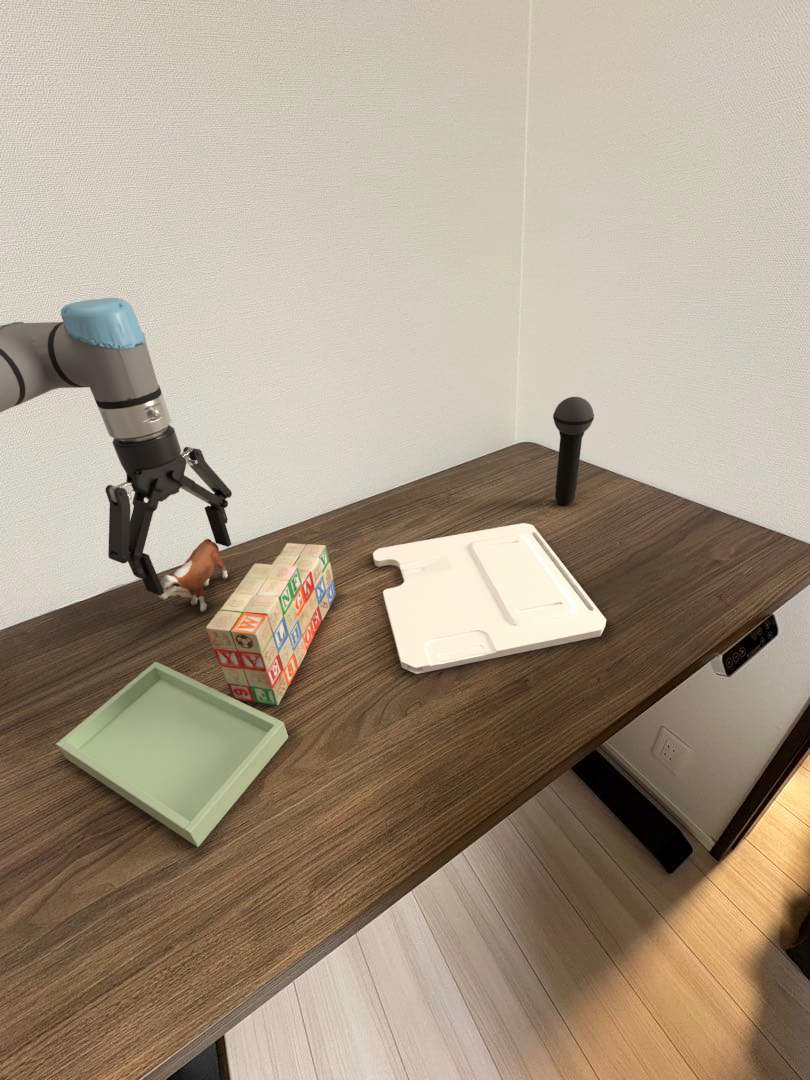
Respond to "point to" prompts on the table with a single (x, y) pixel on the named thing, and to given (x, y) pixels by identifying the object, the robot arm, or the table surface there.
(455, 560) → the tray
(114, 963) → the table surface
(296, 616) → the stack of blocks
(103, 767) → the tray
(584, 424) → the microphone
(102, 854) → the table surface
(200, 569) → the bull figurine
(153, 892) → the table surface
